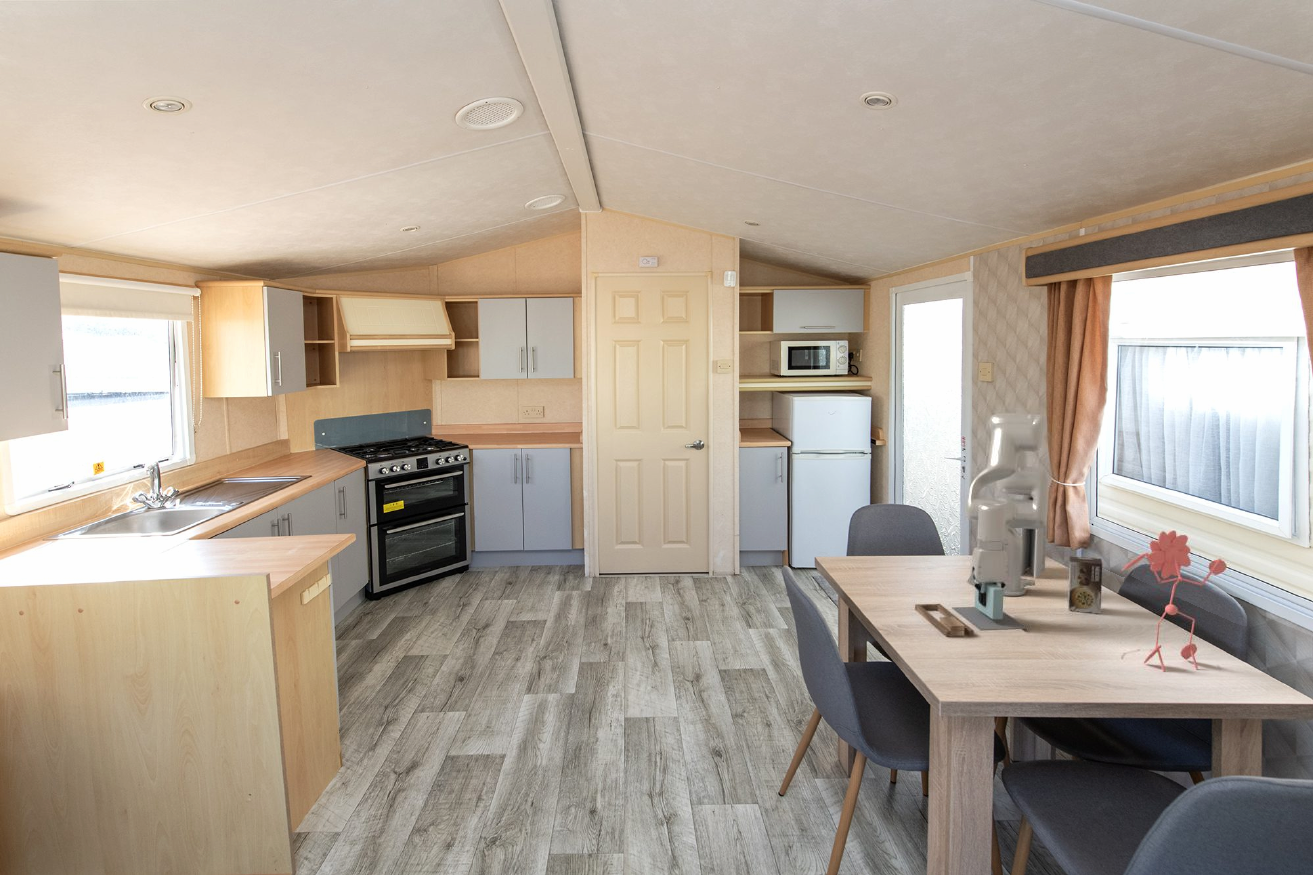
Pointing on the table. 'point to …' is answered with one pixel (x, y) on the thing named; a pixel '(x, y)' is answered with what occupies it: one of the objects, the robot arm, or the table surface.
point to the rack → (945, 631)
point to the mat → (988, 620)
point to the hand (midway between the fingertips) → (988, 603)
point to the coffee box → (1085, 584)
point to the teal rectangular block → (991, 601)
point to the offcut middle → (957, 633)
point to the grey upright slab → (1033, 548)
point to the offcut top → (952, 623)
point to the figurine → (1169, 560)
